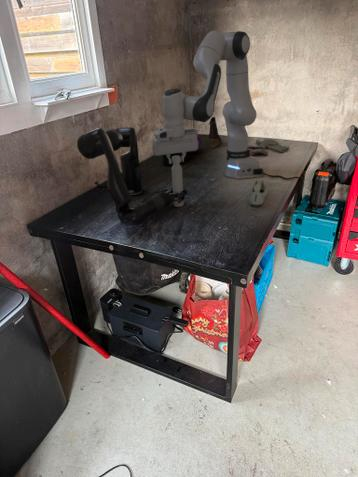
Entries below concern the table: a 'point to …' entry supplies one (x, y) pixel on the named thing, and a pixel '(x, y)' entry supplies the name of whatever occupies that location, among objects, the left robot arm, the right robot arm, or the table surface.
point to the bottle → (177, 181)
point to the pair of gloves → (267, 144)
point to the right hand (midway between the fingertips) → (176, 162)
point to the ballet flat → (258, 193)
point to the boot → (214, 134)
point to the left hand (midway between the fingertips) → (181, 190)
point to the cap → (176, 159)
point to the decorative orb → (198, 144)
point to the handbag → (166, 160)
